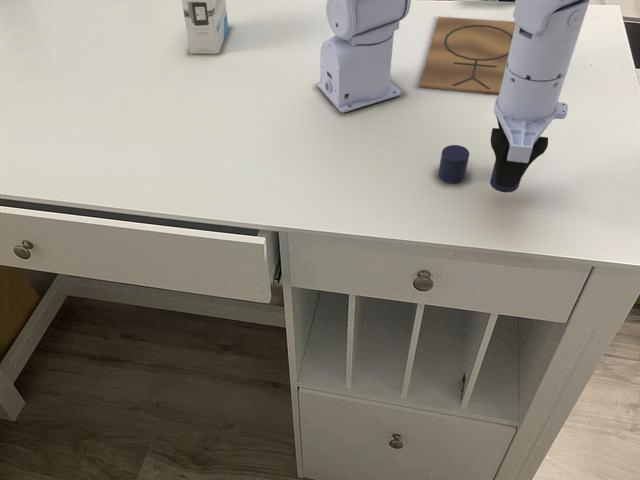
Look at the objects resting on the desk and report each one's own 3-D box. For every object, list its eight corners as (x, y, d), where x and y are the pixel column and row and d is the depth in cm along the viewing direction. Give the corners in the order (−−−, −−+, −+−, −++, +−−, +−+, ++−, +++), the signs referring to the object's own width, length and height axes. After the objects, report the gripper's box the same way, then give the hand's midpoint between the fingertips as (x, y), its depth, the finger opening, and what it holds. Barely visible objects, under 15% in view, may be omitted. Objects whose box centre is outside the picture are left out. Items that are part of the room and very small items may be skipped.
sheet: (522, 96, 92) (523, 93, 91) (419, 87, 95) (419, 84, 95) (530, 25, 103) (531, 22, 103) (438, 19, 107) (438, 16, 107)
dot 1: (447, 186, 81) (451, 164, 79) (433, 171, 83) (436, 149, 81) (470, 178, 82) (474, 156, 79) (455, 164, 84) (459, 141, 81)
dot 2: (500, 196, 76) (507, 172, 73) (484, 179, 78) (490, 156, 75) (524, 187, 76) (532, 164, 74) (507, 171, 78) (514, 148, 76)
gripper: (580, 112, 60) (541, 222, 70) (581, 31, 69) (547, 140, 79) (498, 103, 62) (472, 212, 72) (509, 26, 71) (485, 133, 81)
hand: (507, 174), depth 76 cm, fingers closed on dot 2, 3 cm apart
